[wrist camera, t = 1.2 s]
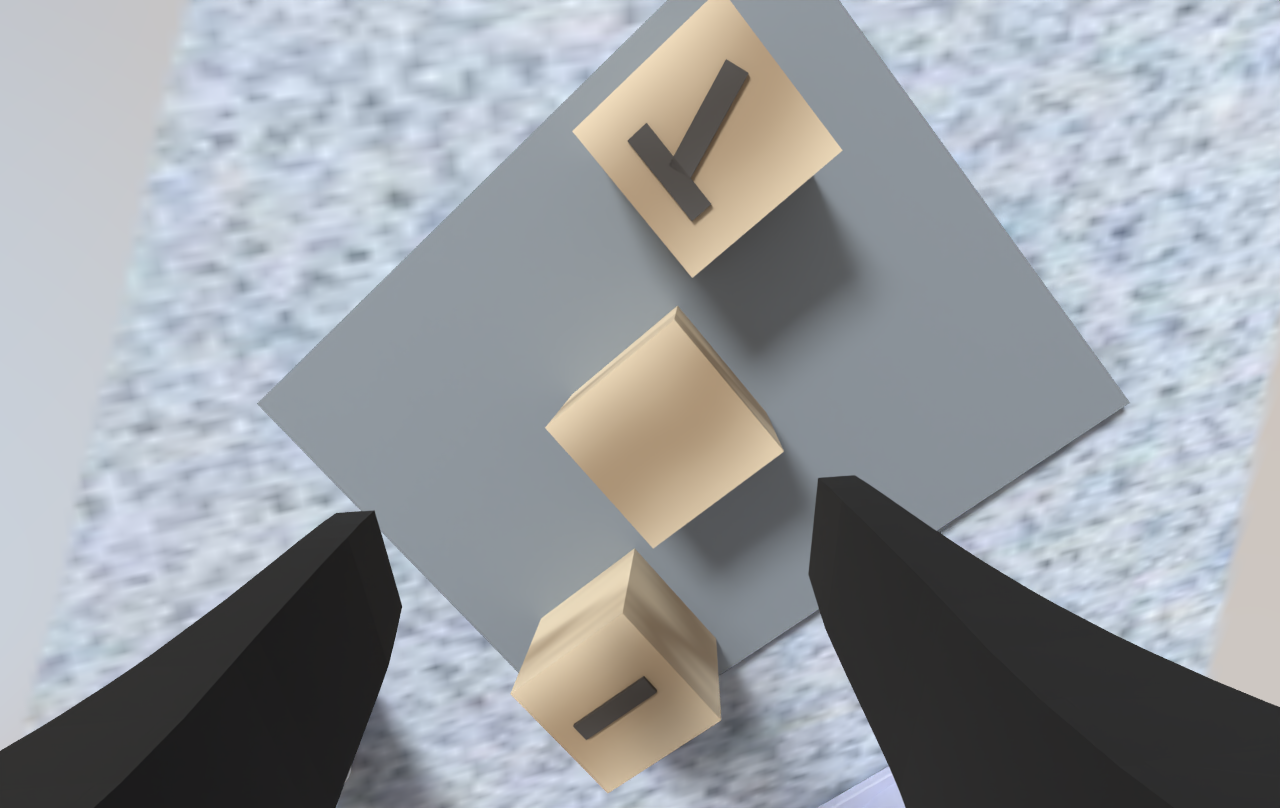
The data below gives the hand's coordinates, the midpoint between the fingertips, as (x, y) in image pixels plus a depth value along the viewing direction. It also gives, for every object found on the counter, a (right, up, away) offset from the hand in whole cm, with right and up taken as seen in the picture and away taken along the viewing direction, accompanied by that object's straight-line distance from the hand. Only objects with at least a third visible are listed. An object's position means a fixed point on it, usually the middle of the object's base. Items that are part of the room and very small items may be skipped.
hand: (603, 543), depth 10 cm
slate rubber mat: (+2, +2, +11) cm, 11 cm away
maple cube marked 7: (+3, +9, +8) cm, 13 cm away
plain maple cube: (+2, +2, +10) cm, 11 cm away
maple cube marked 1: (0, -6, +12) cm, 14 cm away
